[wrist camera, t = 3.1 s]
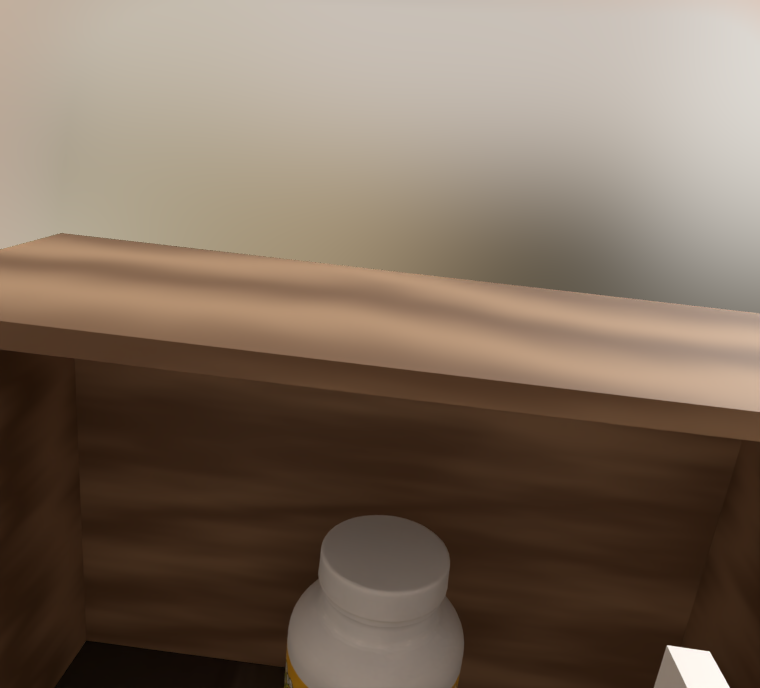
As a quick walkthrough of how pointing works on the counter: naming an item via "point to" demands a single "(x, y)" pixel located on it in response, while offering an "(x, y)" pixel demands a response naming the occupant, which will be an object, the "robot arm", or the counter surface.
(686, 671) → the robot arm
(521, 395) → the cubby
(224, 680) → the counter surface
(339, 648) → the supplement bottle
